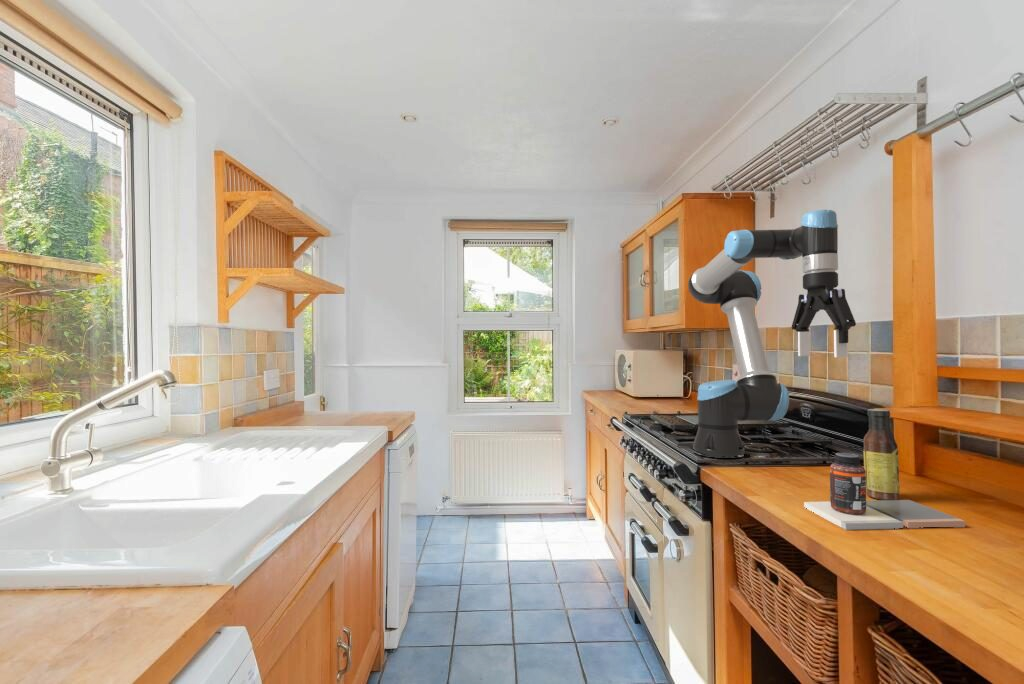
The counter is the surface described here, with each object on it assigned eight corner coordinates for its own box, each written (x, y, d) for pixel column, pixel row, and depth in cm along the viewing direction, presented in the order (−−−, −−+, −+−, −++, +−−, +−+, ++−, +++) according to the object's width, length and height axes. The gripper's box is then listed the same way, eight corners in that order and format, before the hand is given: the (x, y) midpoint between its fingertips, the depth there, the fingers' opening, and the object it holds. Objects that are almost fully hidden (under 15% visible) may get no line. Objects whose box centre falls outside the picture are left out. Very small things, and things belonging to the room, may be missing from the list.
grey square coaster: (859, 506, 101) (859, 500, 101) (909, 505, 101) (909, 499, 101) (908, 528, 89) (908, 522, 89) (965, 527, 89) (965, 520, 89)
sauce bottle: (906, 502, 103) (904, 412, 103) (874, 501, 104) (872, 411, 104) (889, 493, 109) (887, 408, 109) (858, 492, 110) (857, 407, 111)
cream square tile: (804, 507, 101) (804, 501, 101) (854, 506, 101) (854, 500, 101) (845, 529, 88) (845, 523, 88) (903, 528, 89) (902, 522, 89)
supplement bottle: (868, 517, 91) (867, 459, 91) (831, 512, 94) (830, 456, 94) (864, 508, 96) (863, 453, 97) (829, 503, 99) (828, 450, 99)
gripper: (776, 279, 131) (777, 355, 131) (841, 264, 106) (842, 358, 106) (802, 279, 131) (804, 355, 131) (873, 264, 107) (875, 357, 106)
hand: (821, 356), depth 119 cm, fingers open, 13 cm apart
